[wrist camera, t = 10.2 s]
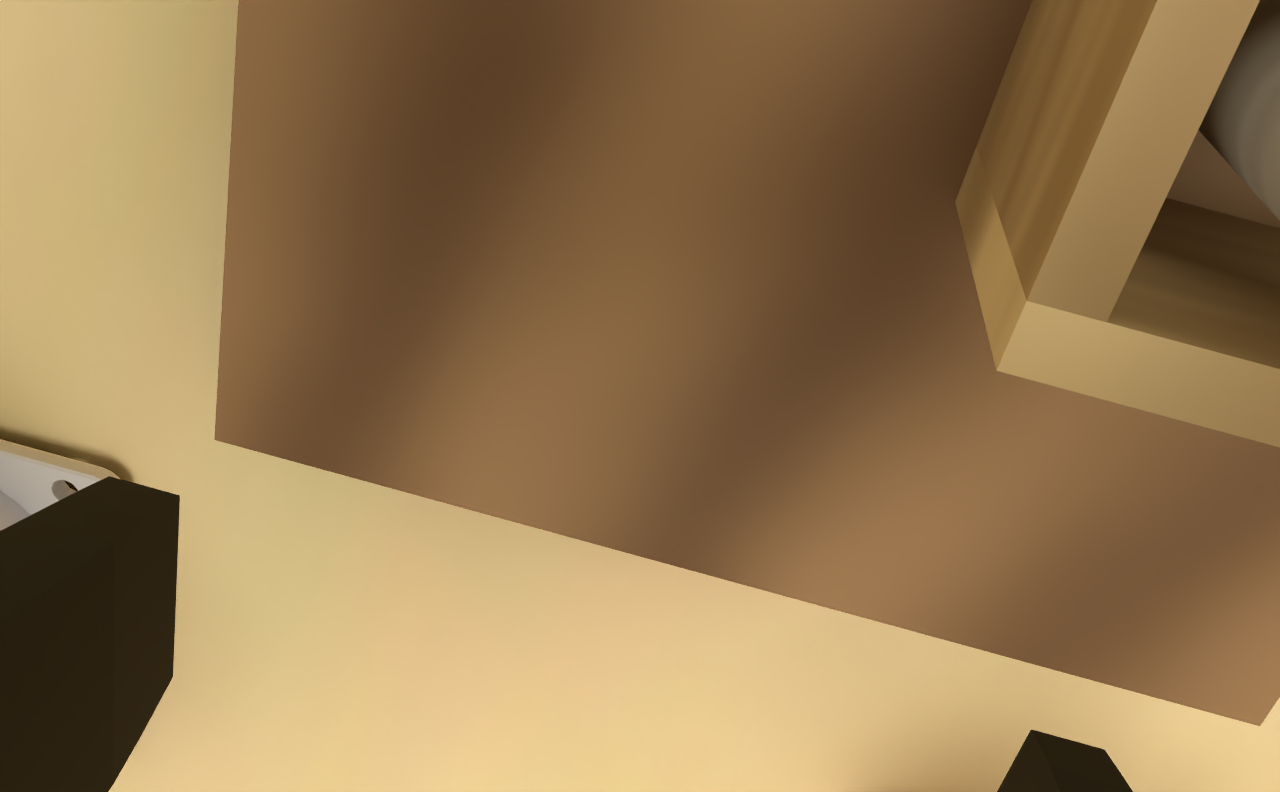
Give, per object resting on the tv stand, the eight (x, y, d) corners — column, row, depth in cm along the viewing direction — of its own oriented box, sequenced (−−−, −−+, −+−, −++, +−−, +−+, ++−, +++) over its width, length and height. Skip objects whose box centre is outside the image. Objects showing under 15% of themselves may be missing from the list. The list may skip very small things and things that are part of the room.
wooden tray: (245, 405, 21) (85, 586, 17) (313, -583, 14) (69, -727, 10) (1238, 676, 21) (1347, 935, 17) (1802, -194, 14) (2259, -159, 10)
